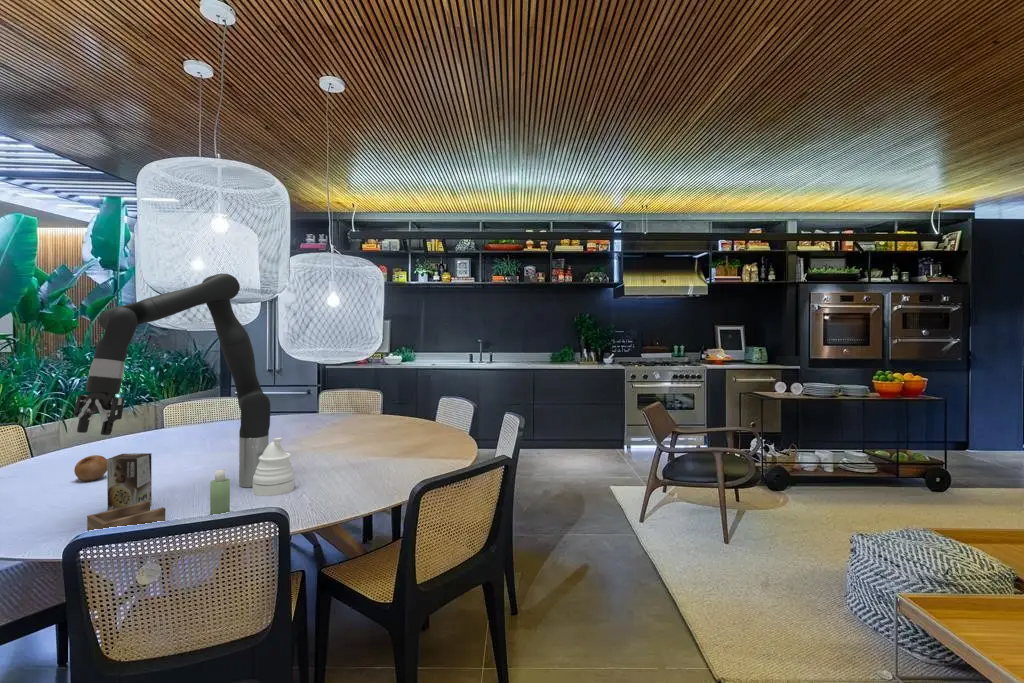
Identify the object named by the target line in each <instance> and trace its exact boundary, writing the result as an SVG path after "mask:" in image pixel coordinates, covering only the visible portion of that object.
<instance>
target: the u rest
mask: <svg viewBox="0 0 1024 683" xmlns="http://www.w3.org/2000/svg"><path fill="white" fill-rule="evenodd" d="M86 517H87V518H86V519H87V520H86V523H87V524H86V526H87V528H86V531H87V530H94V529H103V528H109V527H117V526H127V525H137V524H145V523H152V522H157V521H165V522H166V507H164V506H163V507H159V508H155V509H151V505H150V502H149V501H146V502H142V503H138V504H134V505H130V506H126V507H121V508H117V509H113V510H109V511H108V510H107V511H106V510H105V511H102V512H98V513H94V514H90V515H87V516H86Z"/></svg>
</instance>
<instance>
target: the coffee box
mask: <svg viewBox="0 0 1024 683" xmlns="http://www.w3.org/2000/svg"><path fill="white" fill-rule="evenodd" d="M106 459H107V472H106V476H107V478H106V480H107V484H106V485H107V511H109V510H113V509H117V508H121V507H126V506H130V505H134V504H138V503H142V502H146V501H149V502H150V506H152V505H153V504H152V502H153V501H152V499H153V498H152V491H153V490H152V488H153V487H152V452H151V453H150V452H149V453H145V452H144V453H120V454H117V455H114V456H111V457H109V458H106Z"/></svg>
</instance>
